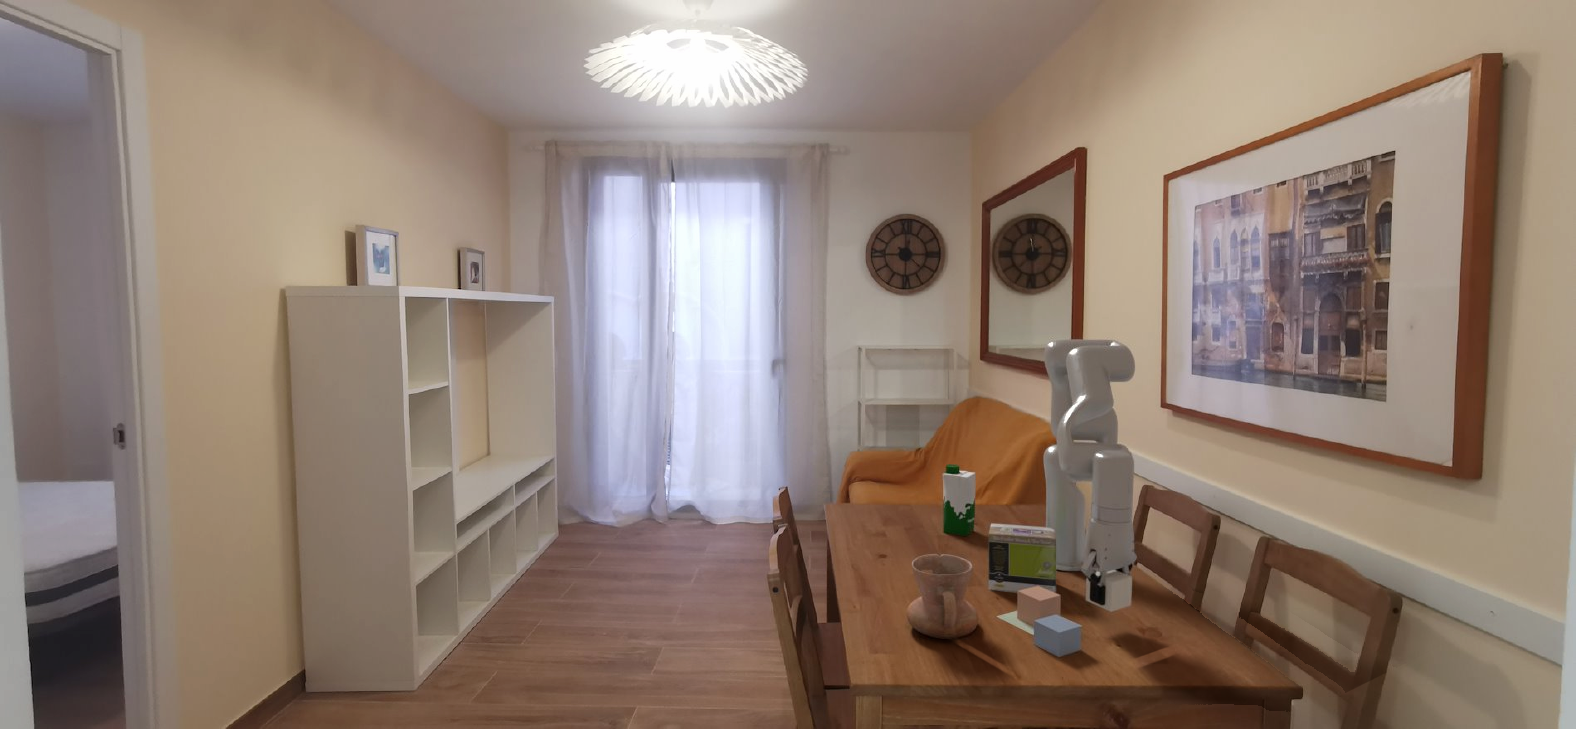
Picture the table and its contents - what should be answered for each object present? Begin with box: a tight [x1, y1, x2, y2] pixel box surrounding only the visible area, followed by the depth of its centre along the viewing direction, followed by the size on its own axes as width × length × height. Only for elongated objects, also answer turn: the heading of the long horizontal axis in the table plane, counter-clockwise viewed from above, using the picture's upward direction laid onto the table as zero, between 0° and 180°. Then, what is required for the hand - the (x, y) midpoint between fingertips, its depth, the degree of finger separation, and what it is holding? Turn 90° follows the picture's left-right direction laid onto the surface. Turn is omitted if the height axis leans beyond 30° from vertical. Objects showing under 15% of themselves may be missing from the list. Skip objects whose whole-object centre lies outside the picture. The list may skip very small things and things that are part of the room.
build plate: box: [995, 610, 1083, 636], centre depth 147 cm, size 12×12×1 cm
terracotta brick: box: [1016, 586, 1062, 627], centre depth 147 cm, size 6×6×6 cm
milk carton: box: [942, 464, 976, 537], centre depth 213 cm, size 9×9×20 cm
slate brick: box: [1033, 614, 1082, 658], centre depth 135 cm, size 6×6×6 cm
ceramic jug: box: [906, 553, 979, 640], centre depth 145 cm, size 18×14×14 cm
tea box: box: [987, 522, 1057, 594], centre depth 167 cm, size 15×10×15 cm
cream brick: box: [1085, 570, 1133, 613], centre depth 143 cm, size 6×6×6 cm
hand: (1108, 598), depth 143 cm, fingers closed on cream brick, 6 cm apart
